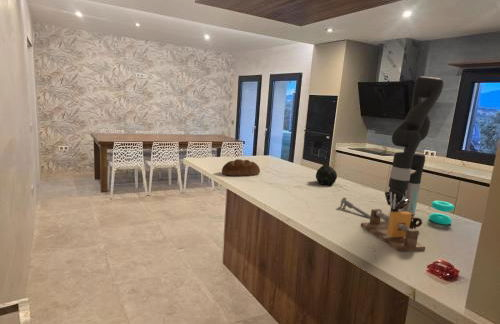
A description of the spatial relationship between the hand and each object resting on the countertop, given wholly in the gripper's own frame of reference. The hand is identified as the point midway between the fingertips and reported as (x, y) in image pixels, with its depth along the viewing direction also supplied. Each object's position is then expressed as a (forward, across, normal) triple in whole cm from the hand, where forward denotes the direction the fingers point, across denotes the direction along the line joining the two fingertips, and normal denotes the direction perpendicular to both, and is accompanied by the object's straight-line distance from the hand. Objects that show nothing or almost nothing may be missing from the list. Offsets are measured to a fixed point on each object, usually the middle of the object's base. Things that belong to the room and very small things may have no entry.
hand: (393, 216), depth 135 cm
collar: (+7, -4, 0) cm, 8 cm away
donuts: (+9, +15, -41) cm, 45 cm away
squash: (+9, +88, -14) cm, 90 cm away
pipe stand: (+9, 0, 0) cm, 9 cm away
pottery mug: (+10, +9, -16) cm, 21 cm away
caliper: (+10, +30, -2) cm, 31 cm away
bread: (+10, +114, +42) cm, 122 cm away
